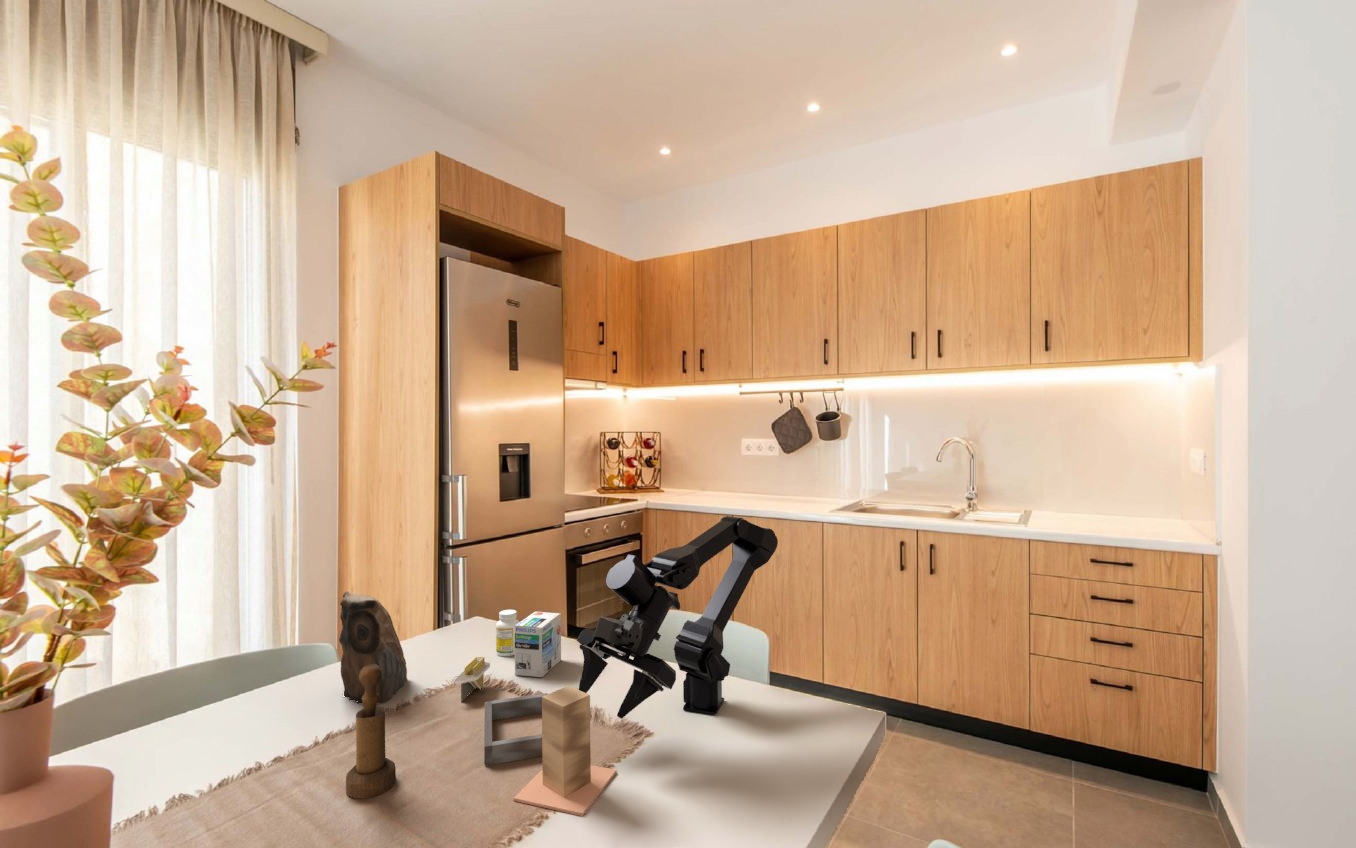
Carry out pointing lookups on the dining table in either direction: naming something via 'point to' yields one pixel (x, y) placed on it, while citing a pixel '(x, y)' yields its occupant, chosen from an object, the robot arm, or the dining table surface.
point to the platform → (472, 676)
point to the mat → (572, 803)
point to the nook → (516, 746)
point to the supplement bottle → (506, 633)
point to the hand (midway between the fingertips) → (598, 706)
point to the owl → (369, 647)
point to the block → (566, 740)
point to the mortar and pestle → (370, 743)
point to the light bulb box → (537, 644)
